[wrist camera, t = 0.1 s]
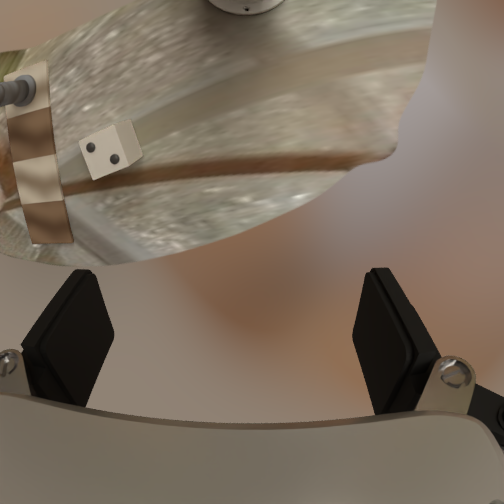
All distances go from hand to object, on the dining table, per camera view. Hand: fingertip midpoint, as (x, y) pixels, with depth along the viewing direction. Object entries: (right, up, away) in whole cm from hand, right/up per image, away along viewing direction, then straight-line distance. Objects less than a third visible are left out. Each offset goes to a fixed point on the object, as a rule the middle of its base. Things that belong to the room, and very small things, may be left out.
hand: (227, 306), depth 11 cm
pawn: (-36, +28, +26) cm, 52 cm away
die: (-19, +18, +32) cm, 41 cm away
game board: (-36, +18, +32) cm, 51 cm away
